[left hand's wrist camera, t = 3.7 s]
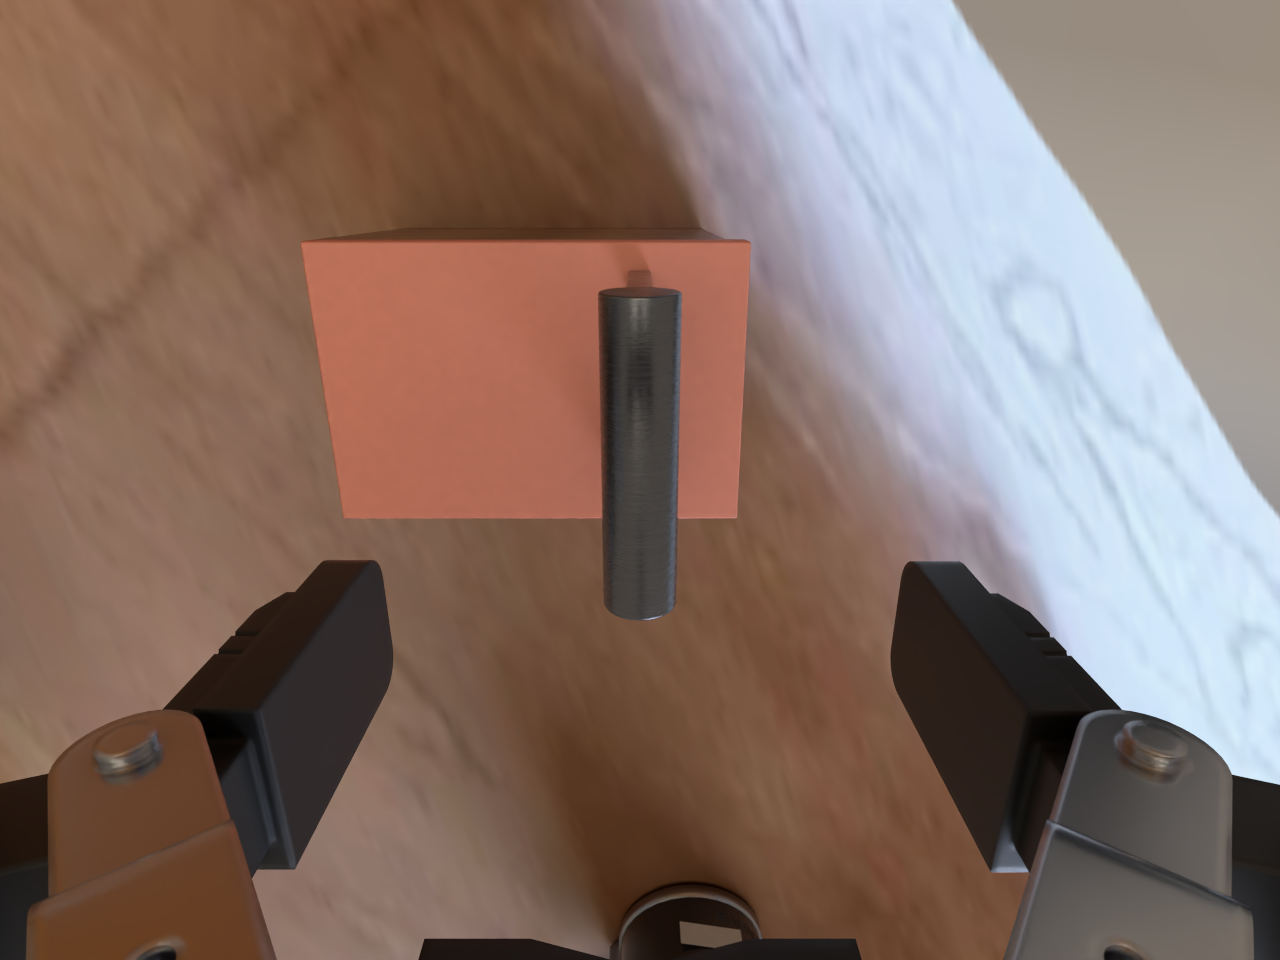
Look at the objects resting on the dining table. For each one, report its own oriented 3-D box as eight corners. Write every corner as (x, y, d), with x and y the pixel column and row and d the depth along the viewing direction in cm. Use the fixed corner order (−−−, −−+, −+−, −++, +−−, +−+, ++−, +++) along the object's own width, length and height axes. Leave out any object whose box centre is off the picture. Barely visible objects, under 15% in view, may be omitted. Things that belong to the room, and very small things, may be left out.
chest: (702, 228, 33) (726, 239, 24) (696, 428, 37) (716, 505, 27) (405, 228, 33) (315, 239, 24) (426, 428, 37) (355, 505, 27)
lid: (746, 239, 24) (805, 261, 15) (733, 506, 27) (776, 645, 19) (314, 239, 24) (134, 261, 15) (354, 506, 27) (225, 645, 19)
